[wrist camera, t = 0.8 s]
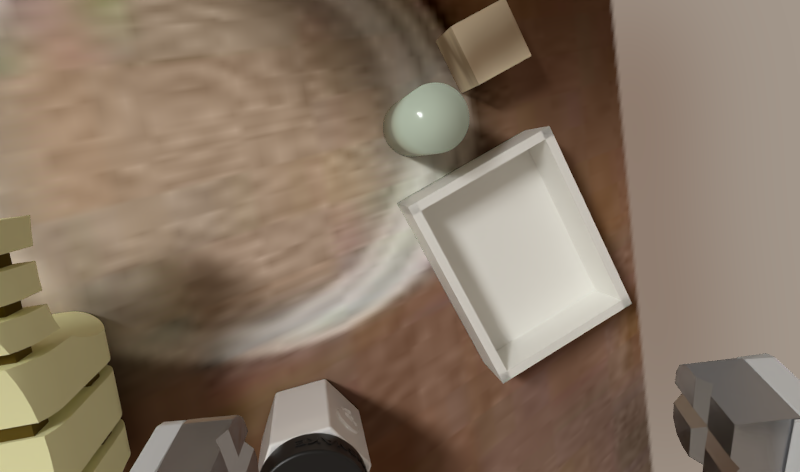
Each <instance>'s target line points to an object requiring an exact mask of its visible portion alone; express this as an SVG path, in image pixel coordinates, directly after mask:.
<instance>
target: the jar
mask: <svg viewBox="0 0 800 472" xmlns="http://www.w3.org/2000/svg"><path fill="white" fill-rule="evenodd" d="M370 468H371V461H370V457H369V452H368V448H367V444H366V439H365V435H364V431H363V426H362V422H361V418H360V413H359V410H358V409H357V408H356V407H355V406H354V405H353V404H351V403H350V402H349V401H348V400H347V399H346V398H345V397H344V396H343V395H342V394H341V393H340V392H339V391H338V390H337V389H336V388H335V387H333V386H332V385H331V384H330V383H329V382H328V381H327V380H326V379H323V380H319V381H316V382H312V383H309V384H305V385H302V386H298V387H295V388H291V389H288V390H284V391H280V392H277V393H276V394H275V397H274V400H273V404H272V407H271V410H270V414H269V417H268V420H267V424H266V427H265V431H264V434H263V437H262V443H261V449H260V456H259V462H258V469H259V472H369V471H370Z"/></svg>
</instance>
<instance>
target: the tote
mask: <svg viewBox="0 0 800 472" xmlns="http://www.w3.org/2000/svg"><path fill="white" fill-rule="evenodd" d="M397 204H398V206H399V208H400V210H401V211H402V213H403V215H404V217H405V219H406V221H407V222H408V224H409V226H410V228H411V230H412V232H413V233H414V235H415V237H416V239H417V241H418V243H419V244H420V246H421V248H422V250H423V252H424V254H425V255H426V257H427V259H428V261H429V263H430V265H431V266H432V268H433V270H434V272H435V274H436V276H437V277H438V279H439V281H440V283H441V285H442V287H443V288H444V290H445V292H446V294H447V296H448V298H449V299H450V301H451V303H452V305H453V307H454V309H455V310H456V312H457V314H458V316H459V318H460V320H461V321H462V323H463V325H464V327H465V329H466V331H467V332H468V334H469V336H470V338H471V340H472V342H473V343H474V345H475V347H476V349H477V351H478V353H479V354H480V356H481V358H482V360H483V362H484V363H485V364H486V365H487V366H488V368H489V369H490V370H491V371H492V372H493V373H494V374H495V375H496V376H497V377H498V378H499V379H500V380H501V381H502V383H505V382H507V381H508V380H510V379H511V378H513V377H515V376H516V375H518V374H519V373H521V372H523V371H524V370H526V369H527V368H529V367H531V366H532V365H534V364H536V363H537V362H539V361H540V360H542V359H544V358H545V357H547V356H548V355H550V354H552V353H553V352H555V351H556V350H558V349H560V348H561V347H563V346H564V345H566V344H568V343H569V342H571V341H573V340H574V339H576V338H577V337H579V336H581V335H582V334H584V333H585V332H587V331H589V330H590V329H592V328H593V327H595V326H597V325H598V324H600V323H601V322H603V321H605V320H606V319H608V318H610V317H611V316H613V315H614V314H616V313H618V312H619V311H621V310H622V309H624V308H626V307H627V306H629V305H630V304H632V303H631V300H630V298H629V296H628V294H627V292H626V290H625V287H624V285H623V283H622V281H621V279H620V277H619V275H618V272H617V270H616V268H615V266H614V264H613V262H612V260H611V257H610V255H609V253H608V251H607V249H606V247H605V244H604V242H603V240H602V238H601V236H600V234H599V232H598V229H597V227H596V225H595V223H594V221H593V219H592V217H591V214H590V212H589V210H588V208H587V206H586V204H585V201H584V199H583V197H582V195H581V193H580V191H579V189H578V186H577V184H576V182H575V180H574V178H573V176H572V174H571V171H570V169H569V167H568V165H567V163H566V161H565V158H564V156H563V154H562V152H561V150H560V148H559V146H558V143H557V141H556V139H555V137H554V135H553V133H552V130H551V128H550V126H547V127H541V128H536V129H530V130H525V131H523V132H521V133H519V134H517V135H516V136H514V137H512V138H510V139H509V140H507V141H505V142H503V143H502V144H500V145H498V146H496V147H495V148H493V149H491V150H489V151H488V152H486V153H484V154H482V155H481V156H479V157H477V158H475V159H474V160H472V161H470V162H468V163H467V164H465V165H463V166H461V167H460V168H458V169H456V170H454V171H453V172H451V173H449V174H447V175H446V176H444V177H442V178H440V179H439V180H437V181H435V182H433V183H431V184H430V185H428V186H426V187H424V188H423V189H421V190H419V191H417V192H416V193H414V194H412V195H410V196H409V197H407V198H405V199H403V200H402V201H400V202H398V203H397Z"/></svg>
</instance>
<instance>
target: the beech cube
mask: <svg viewBox="0 0 800 472" xmlns="http://www.w3.org/2000/svg"><path fill="white" fill-rule="evenodd" d="M436 43H437V45H438V47H439V49H440V51H441V53H442V55H443V58H444V60H445V62H446V64H447V66H448V68H449V70H450V72H451V74H452V76H453V78H454V80H455V82H456V84H457V86H458V88H459V90H460V92H461V93H463V92H465V91H468V90H470V89H472V88H474V87H476V86H478V85H480V84H482V83H484V82H485V81H487V80H489V79H491V78H493V77H494V76H496V75H498V74H500V73H502V72H503V71H505V70H507V69H509V68H511V67H512V66H514V65H516V64H518V63H520V62H521V61H523V60H525V59H527V58H529V57H530V56H531V53H530V51H529V49H528V47H527V45H526V42H525V40H524V38H523V36H522V34H521V32H520V29H519V27H518V25H517V23H516V21H515V19H514V16H513V14H512V12H511V10H510V8H509V5H508V3H507V1H506V0H499V1H497V2H495V3H493V4H492V5H490V6H488V7H486V8H484V9H482V10H480V11H479V12H477V13H475V14H473V15H471V16H469V17H467V18H466V19H464V20H462V21H460V22H458V23H456V24H454V25H453V26H451V27H450V28H449V29H448V30H447V31H446V32H445V33H444V34H443V35H441V36H440V37H439V38H438V39H437V40H436Z"/></svg>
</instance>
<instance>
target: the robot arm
mask: <svg viewBox="0 0 800 472" xmlns="http://www.w3.org/2000/svg"><path fill="white" fill-rule="evenodd" d="M675 380H676V381H675V384H676V385H677V386H678V388H679V389H680V390H681V392H682V394H681V395H680V396H679V397H678V399H677V400H676V401H675V402H674V412H673V413H674V415H673V418H674V423H675V428H676V432H677V435H678V437H679V439H680V442H681V444H682V446H683V448H684V449H685V451H686V452H687V454H688V456H689V457H691V458H693V459H694V460H696V461H698V462H699V463H701V464H703V472H800V380H799V379H798V378H797V377H796V376H795V375H794V374H793V373H791V372H790V371H789V370H788V369H787V368H786V367H785V366H784V365H783V364H782V363H780V361H778V360H777V359H776V358H775V357H774V356H771V355H769V354H766V353H765V354H759V355H751V356H744V357H737V358H735V359H725V360H717V361H708V362H700V363H691V364H683V365H679V367H678V369H677V371H676V379H675ZM247 432H248V430H247V427H246V424H245V422H244V419H243V417H241V416H239V415H232V416H220V417H209V418H198V419H189V420H181V421H170V422H163V423H162V424H160V425H158V426H157V427H156V428H155V430H154V432H153V433H152V435H151V437H150V438H149V440H148V442H147V443H146V445H145V447H144V448H143V450H142V452H141V453H140V455H139V457H138V458H137V460H136V462H135V463H134V465H133V467H132V468H131V470H130V472H259V469H258V462H257V457H256V454H255V451H254V448H252V447H251V446H250V445H248V444H247V443H246V442H244V441H245V438H246V435H247Z"/></svg>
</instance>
